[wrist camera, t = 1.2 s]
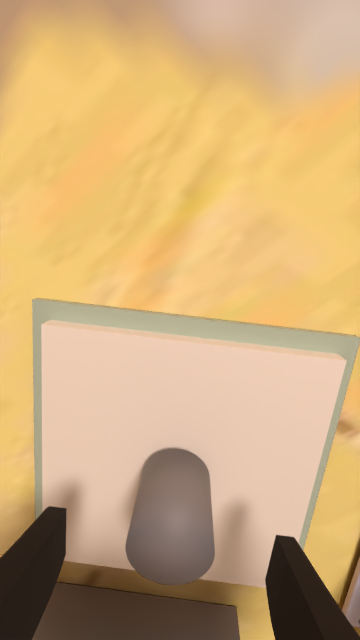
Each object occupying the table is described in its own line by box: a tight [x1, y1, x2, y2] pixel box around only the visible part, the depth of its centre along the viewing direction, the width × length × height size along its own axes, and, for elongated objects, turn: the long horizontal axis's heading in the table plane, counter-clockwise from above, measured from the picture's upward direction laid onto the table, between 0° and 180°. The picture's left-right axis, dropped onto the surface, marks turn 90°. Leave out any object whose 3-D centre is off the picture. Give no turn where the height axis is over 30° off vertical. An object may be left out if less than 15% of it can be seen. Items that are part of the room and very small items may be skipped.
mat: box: [32, 298, 360, 550], centre depth 14 cm, size 14×14×1 cm
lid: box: [41, 320, 347, 588], centre depth 12 cm, size 12×12×4 cm
